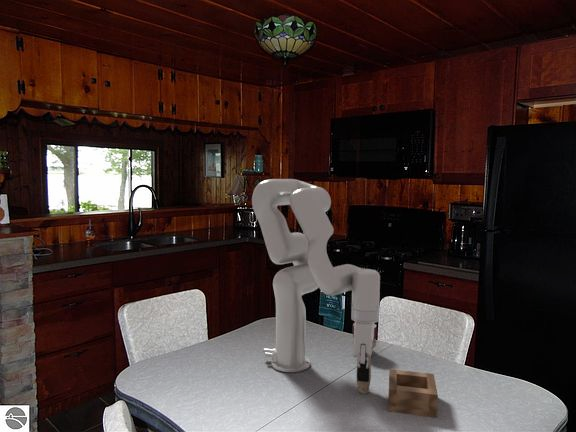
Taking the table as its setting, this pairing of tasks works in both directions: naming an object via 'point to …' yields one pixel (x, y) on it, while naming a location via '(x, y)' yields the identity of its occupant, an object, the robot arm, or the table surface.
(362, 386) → the handle
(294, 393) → the table surface
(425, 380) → the block
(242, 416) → the table surface
